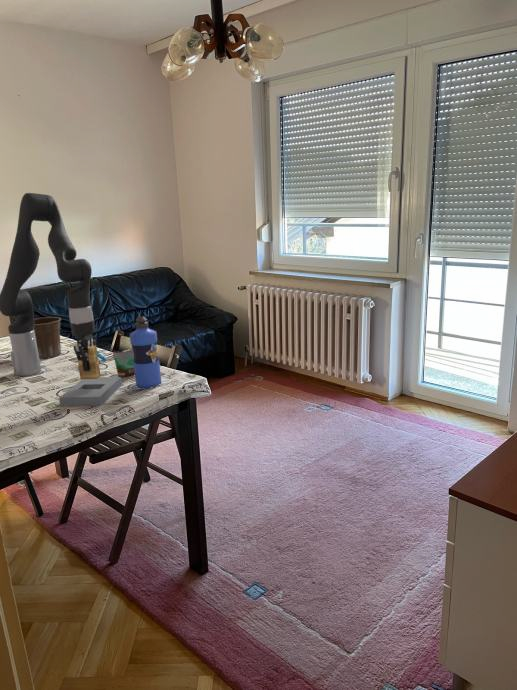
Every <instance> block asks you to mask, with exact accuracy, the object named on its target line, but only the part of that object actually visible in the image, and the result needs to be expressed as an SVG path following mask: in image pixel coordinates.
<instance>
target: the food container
mask: <svg viewBox="0 0 517 690" xmlns="http://www.w3.org/2000/svg"><path fill="white" fill-rule="evenodd" d="M112 359H114V363H115V367H116V368H115V369H116V373H117V377H121V378H129V377H130V376H131V377H135V376H134V375H135V372H134V363H133V362H134V354H133V349H132V347H131V348H127V349H124V350H122V351H120V352H114V351H113V352H112ZM131 377H130V378H131Z"/></svg>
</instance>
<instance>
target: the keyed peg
mask: <svg viewBox="0 0 517 690" xmlns="http://www.w3.org/2000/svg"><path fill="white" fill-rule="evenodd" d="M97 348H98V347H97V344H96V345H95V346H90V348H89V351H90V353H89V363H90V371H84V370H83V364H82V361H81V360H80V361H79V360H78V358H77V357H76V359H77V364H78V365H77V366H78V373H79V377H80V379H79V380H82V379H98V378H99V377H101V376H102V375H101V369H100V362H99V361H100V360H99V357H98V354H97V351H98V349H97ZM84 351H87V350H84ZM85 355H86V354H85Z"/></svg>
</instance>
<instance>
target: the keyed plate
mask: <svg viewBox="0 0 517 690" xmlns="http://www.w3.org/2000/svg"><path fill="white" fill-rule="evenodd" d="M122 385H123V380H122V377H118V376H108V377H107V376H105V377H104V376H102V377H101V376H100V377H99V378H98V379H80V380H79V381H78V382H77V383H76V384H74V385H72V387H70V388H69V389H67V391H65V392H64V393H63V394H62V395H60V396H59V397H58V400H59V406H60V407H82V406H86V407H87V406H91V407H92V406H102V405H103V404H104V403H106V402H107V400H108V399H109V398H111V396H112V395H114V393H115V392H117V390H118V389H120V388H121V387H122Z"/></svg>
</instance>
